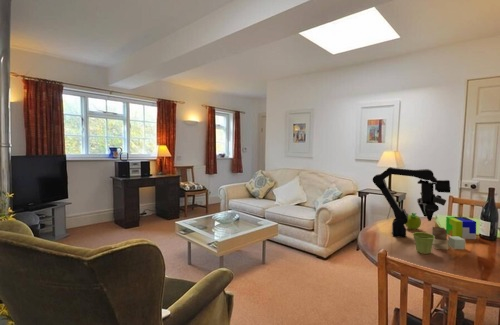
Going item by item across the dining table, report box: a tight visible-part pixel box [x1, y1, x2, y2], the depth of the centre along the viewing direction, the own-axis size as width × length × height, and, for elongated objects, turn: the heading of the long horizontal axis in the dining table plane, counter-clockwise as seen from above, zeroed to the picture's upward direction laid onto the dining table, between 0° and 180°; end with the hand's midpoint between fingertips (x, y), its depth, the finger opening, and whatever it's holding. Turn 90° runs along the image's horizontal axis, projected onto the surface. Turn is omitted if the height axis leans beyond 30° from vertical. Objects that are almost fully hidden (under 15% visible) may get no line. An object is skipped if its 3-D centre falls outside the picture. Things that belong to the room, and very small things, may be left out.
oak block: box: [432, 238, 449, 251], centre depth 136 cm, size 6×6×5 cm
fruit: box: [404, 212, 422, 231], centre depth 166 cm, size 9×9×10 cm
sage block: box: [447, 235, 466, 250], centre depth 135 cm, size 5×5×5 cm
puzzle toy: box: [445, 216, 477, 240], centre depth 151 cm, size 10×10×10 cm
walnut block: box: [431, 226, 448, 240], centre depth 136 cm, size 5×5×5 cm
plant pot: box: [412, 231, 435, 255], centre depth 131 cm, size 9×9×9 cm
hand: (427, 218), depth 147 cm, fingers open, 9 cm apart
